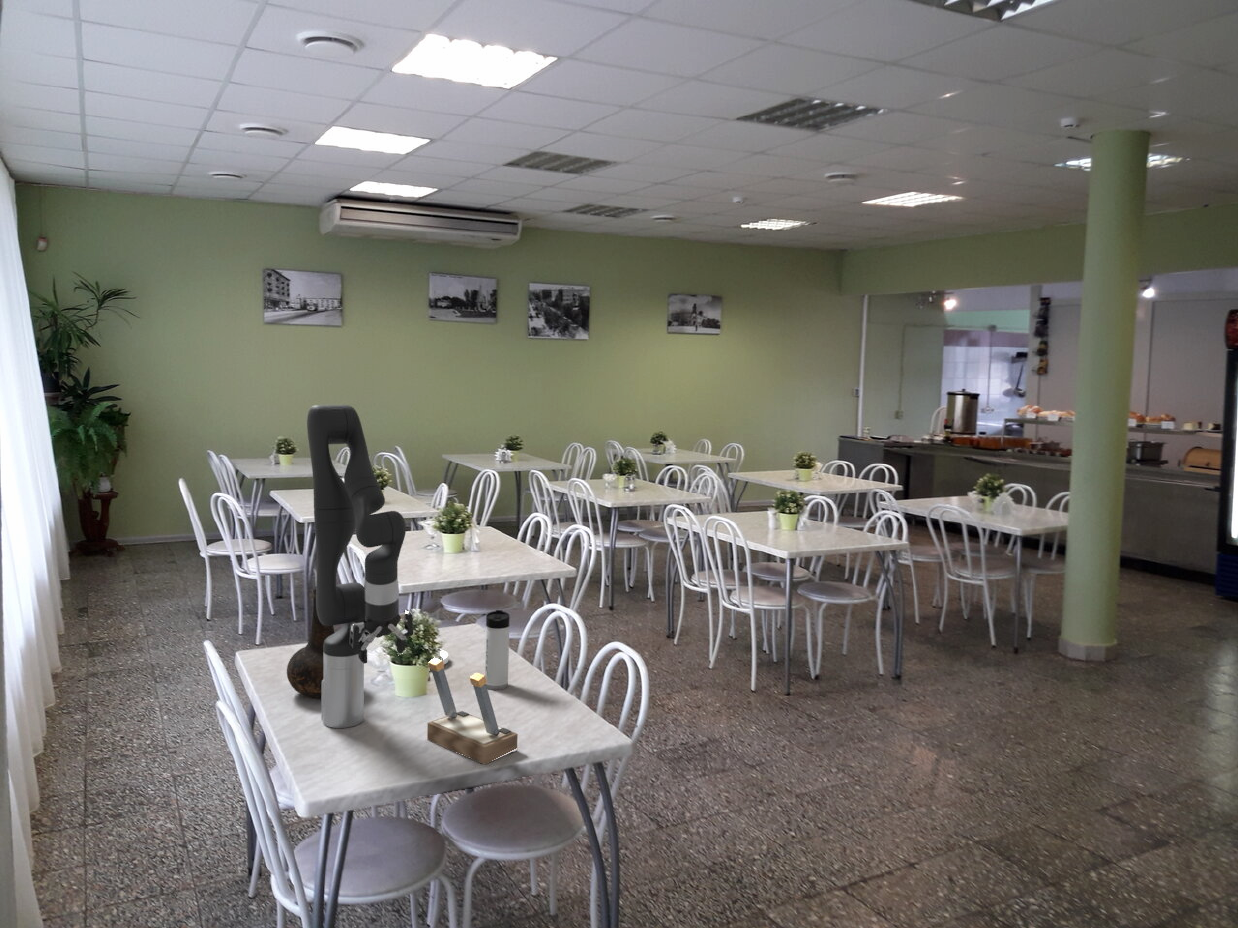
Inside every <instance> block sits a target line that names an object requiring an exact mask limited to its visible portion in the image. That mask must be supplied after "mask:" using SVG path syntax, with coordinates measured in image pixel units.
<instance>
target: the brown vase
mask: <svg viewBox="0 0 1238 928" xmlns="http://www.w3.org/2000/svg"><path fill="white" fill-rule="evenodd" d="M312 590H313V592H312V593H310V594H309V597H310V598H312V600H313V601H312V614H311V616H312V617H311V623H310V624H311V625H310V631H309V637H308V641H307V643H306V645H305V646H304V647H302V648H299V650H297V651H296V652H295V653H294V654H293V655H292V656H291V657H290V659H289V661H288V663H287V667H286V677H287V680H288V682H289V684H290V685H291V687H292V688H293V689H294V690H295V692H297V694H300V695H301V696H303V697H306V698H308V699H309V698H310V699H316V700H321V697H322V680H323V645H324V641H325V639H326V638H327V637H329V636H330V635H332V634H334V633H335V629H334V625H332V626H325V625H323V624H322V623H321V622H320V621H319V618H318V615H317V610H316V586H313V588H312Z"/></svg>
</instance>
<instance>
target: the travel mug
mask: <svg viewBox="0 0 1238 928" xmlns="http://www.w3.org/2000/svg"><path fill="white" fill-rule="evenodd" d="M485 617H486V618H485V622H486V623H485V639H484V640H485V641H484V642H485V645H484V646H485V647H484V648H485V649H484V650H485V651H484V675H485V678H486V681H487V683H486V686H487V690H492V691H493V690H494V691H497V690H498V691H499V689H500V690H503V688H504V689H507V687H508V686H509V660H510V659H509V658H510V657H509V656H510V614H509V612H506V611H503V609H496V610H495V611H490V612H488V613H487V614H486V616H485Z"/></svg>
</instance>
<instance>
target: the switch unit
mask: <svg viewBox="0 0 1238 928" xmlns="http://www.w3.org/2000/svg"><path fill="white" fill-rule="evenodd" d="M498 728H499V735H498V736H495V735H492V734H489V733H487V732H486V728H485V725H484V721H483V718H479V717H477V716H474V715H472V714H470V713H468V712H465V711H463V710H460V711H457V717H456V718H455V719H454V718H451V717H448V716H446V715H445V716H443V717H440V718H438V719H435V720H432V721H429V722H427V733H426V734H427V735H426V737H427V741H429V742H432V743H433V744H437V746H441V747H443V748H445V749H447V750H449V749H450V751H452V750H453V751H452V752H454V753H456V752H457V754H458V753H460V754H463V755H465V756H467V757H470V758H472V759H474V760H476V761H478V762H480V763H482V764H481V765H483V764H485V765H487V764H489V763H488V762H490V761H492V760H494V759H496V758H498V757H500V756H502V755H504V754H506V753H508V752H510V751H512V750H514V749H516V748H517V749H518V735H519V733H517V732H514V731H512V730H511V729H507V728H505V727H502V726H500V725H498ZM460 754H459V755H460ZM463 755H462V756H463ZM465 756H464V757H465ZM467 757H466V758H467ZM472 759H471V760H472ZM474 760H473V761H474ZM476 761H475V762H476ZM478 762H477V763H478ZM492 762H493V761H492ZM480 763H479V764H480ZM486 763H487V764H486ZM490 763H491V762H490Z"/></svg>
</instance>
